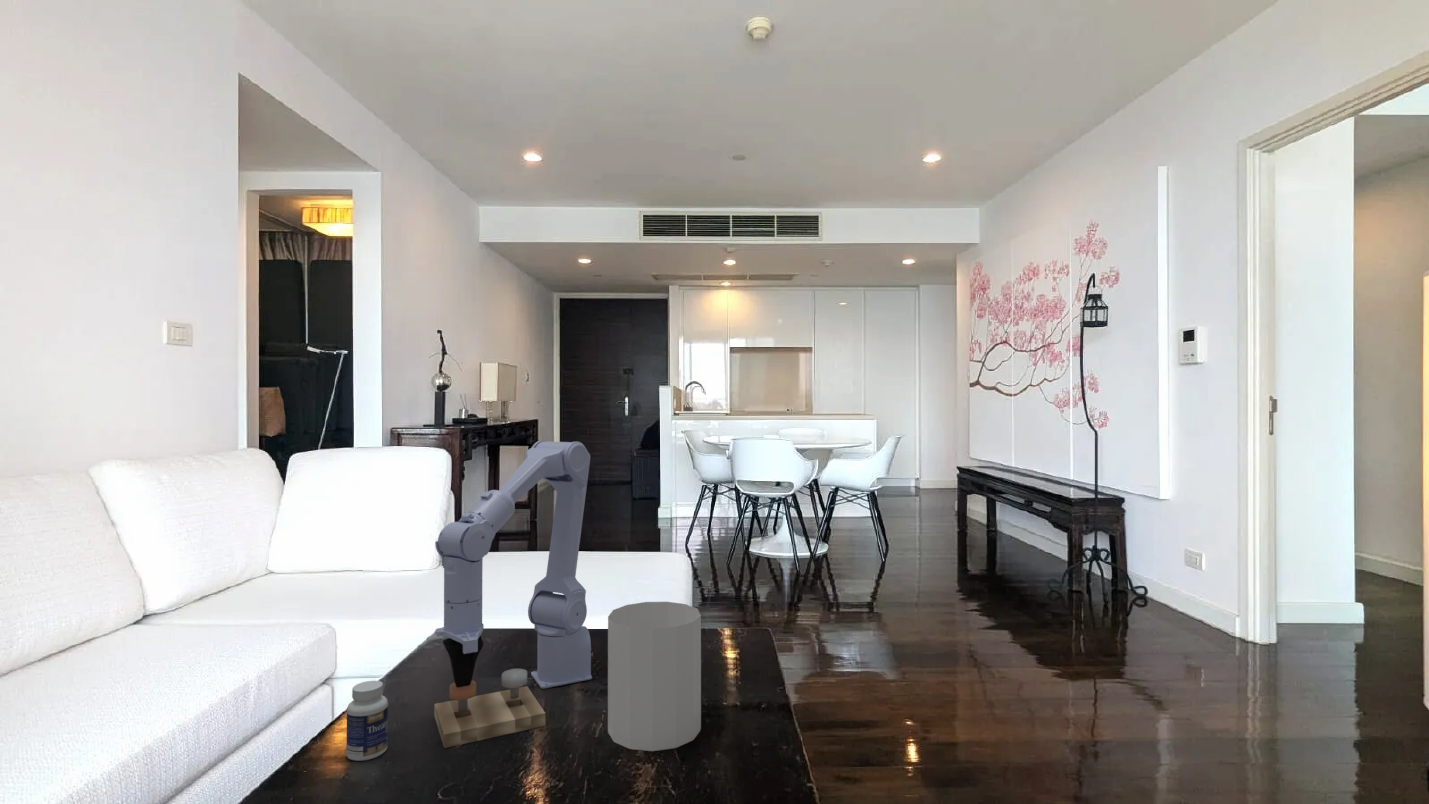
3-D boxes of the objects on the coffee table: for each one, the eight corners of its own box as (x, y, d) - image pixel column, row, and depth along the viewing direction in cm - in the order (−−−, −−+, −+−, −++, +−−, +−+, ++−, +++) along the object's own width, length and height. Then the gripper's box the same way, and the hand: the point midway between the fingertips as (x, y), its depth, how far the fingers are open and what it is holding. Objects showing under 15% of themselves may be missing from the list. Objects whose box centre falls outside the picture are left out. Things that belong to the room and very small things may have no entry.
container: (599, 718, 111) (599, 607, 112) (682, 703, 117) (682, 597, 117) (623, 759, 98) (623, 633, 98) (715, 740, 104) (715, 621, 104)
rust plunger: (473, 702, 111) (474, 678, 111) (478, 711, 107) (478, 686, 107) (447, 707, 109) (447, 682, 109) (451, 717, 105) (451, 691, 105)
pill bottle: (370, 764, 97) (371, 694, 97) (337, 760, 98) (338, 691, 98) (395, 745, 102) (396, 680, 102) (364, 742, 103) (364, 677, 103)
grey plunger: (523, 690, 115) (523, 667, 115) (529, 699, 111) (529, 675, 111) (499, 695, 113) (499, 671, 113) (504, 704, 109) (504, 679, 109)
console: (527, 697, 119) (527, 686, 119) (545, 725, 108) (545, 713, 108) (434, 716, 112) (434, 704, 112) (444, 748, 101) (444, 734, 101)
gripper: (430, 591, 113) (430, 674, 113) (442, 614, 100) (441, 707, 100) (475, 586, 116) (475, 666, 116) (492, 607, 103) (491, 698, 103)
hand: (462, 685), depth 108 cm, fingers closed, pressing on rust plunger
